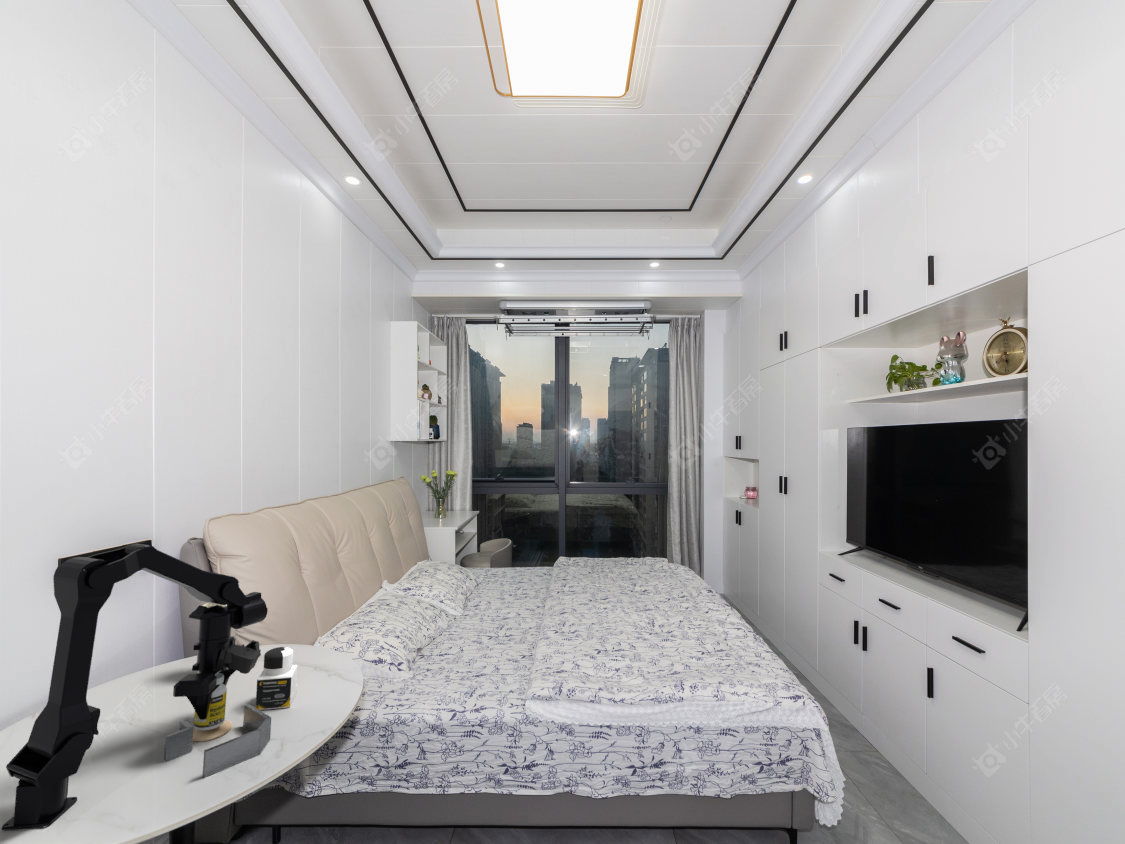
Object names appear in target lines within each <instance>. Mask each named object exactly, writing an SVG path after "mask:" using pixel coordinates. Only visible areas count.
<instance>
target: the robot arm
mask: <svg viewBox="0 0 1125 844" xmlns="http://www.w3.org/2000/svg"><path fill="white" fill-rule="evenodd" d="M141 570H142V571H143V572H144V571H145V572H146V573H149V574H151V575H154V576H156V577H159V578H161V579H164V580H166V581H169V582H171V583H173V584H176V585H178V586H180V587H182V588H184V589H185V590H186V591H187V592H188V594H189V595H191V596H192V597H194V598H196V599H197V600H198V601H200V602H205V603H215V604H221V605H226V604H227V606H225V607H222V606H220V605H215V606H211V607H208V608H207V607H206V606H203V605H198V606H197V607H196V609H195V610H193V611H192V612H191V613H190V614H189V615H188V618H189V619H192V620H197V621H199V623H198V625H199V626H198V638H197V639H198V640H197V642H196V643H195V644H194V645H193V649H192V651H197V655H196V662H195V663H194V664H193V665H192V667H191V672H194V671H195V672H197V671H199V672H200V673H199V674H197V673H188V674H186V675H185V676H184V677H182V678H181V679H180V680H178V682H176V683H175V684H174V685H173V692H172V696H173V697H174V698H177V697H178V698H181V697H186V698H187V700H188V702H189V703H190V704H191V706H192V708H193V710H194V712H195V711H196V713H197V715H198V717H199V718H200V720H205V719H206V718H207V715H208V711H209V706H210V701H211V696H212V693H213V692H214V691H215V690H216V689H217V688H218V687H219V686H220V685H216V683H217V677H216V675H217V674H218V673H222V674H224V682H223V683H222V684H224V685H226V686H227V684H228V682H229V679H230V678H231V676H232V675H233V674H234V673H235V672H236V671H237V672H239V673H240V674H246V675H247V674H249V673H250V672H251V671H252V669H254V668H255V666H256V664H257V661H258V660H259V658H260V657H261V655H262V654H261V652H262V651H261V649H260V642H259V641H258V640H254V639H252V640H251V641H249V643H248V644H246V645H245V644H240V645H239V644H237V643H236V637H235V638H234V636H231V627H232V628H234V629H235V630H239V629H242V628H246V627H249V626H252V625H255V624H258V623H261V622H263V621H264V620H265V619H266V617H267V615H268V606H267V604H266V601H265V599H263V598H262V592H258V591H252V592H250V593H248V594H245V593H244V592H243V590H242V589H241V588H240V584H239V583H240V581H239V579H238V578H236V577H235V576H232V575H227V574H222V573H217V572H216V573H215V572H211V571H208V570H207V571H206V570H203V569H200V568H198V567H197V566H194V565H191V564H189V563H188V562H185V561H182V560H181V559H178V558H176V557H174V556H172V555H170V554H167V553H165V552H163V551H160V550H158V549H157V548H156V547H155V546H153V545H150V544H143V543H131V544H130V545H126V546H123V547H120V548H118V549H113V550H108V551H104V552H100V553H96V554H93V555H90V556H87V557H83V556H76V557H75V556H74V557H71V558H69V559H67V560H65V561H64V562H63V563H62V564H60V565H59V566H57V567H56V569H55V570H54V574H53V578H52V579H53V591H54V592H53V594H54V595H53V596H54V598H55V602H56V604H57V606H58V609H59V611H60V620H59V625H58V632H57V640H56V646H55V652H54V659H53V665H52V671H51V678H50V684H49V692H48V699H47V703H46V705H45V707H43V710H42V711H41V712H40V714H39V715H38V716H37V717H36V719H35V720H34V722H33V723H34V724H33V726H32V729H31V732H30V735H29V737H28V741H27V742H26V743H25V744H24V745H23V746H22V748H21V749H20V750H19V751H18V752H17V753H16V754H15V756H14V757H12V759H11V760H9V762H8V763H7V764H6V766H5V768H6V771H7V772H8V774H9V777H12V778H13V777H14V778H16V779H19V780H18V784H17V786H16V788H15V800H14V801H15V802H14V813H13V816H12V817H11V818H10V819H8V820H7V821H6V822H5V823H3V824H2V825H1V831H2V830H3V831H5V830H7V831H8V830H17V829H30V828H40V827H47V826H50V825H52V824H53V823H54V822H55V821H56V820H57V819H58V818H59V817H60V816H61V815H63V814H64V813H65V812H66V811H67V810H68V809H70V808H71V807H72V806H73V805H74V804H75V803H77V801H78V797H77V796H68V793H69V780H70V777H71V776H73V775H75V774H77V773H78V771H79V768H80V765H81V763H82V762H83V758H84V757H85V754H86V752H87V750H89V749H90V748H91V746H92V744H93V741H94V738H95V737H94V735H95V736H99V730H98V725H99V724H98V723H99V721H100V720H99V719H100V717H101V709H100V707H96V706H91V705H89V704H88V700H87V695H88V689H89V681H90V673H91V669H92V667H91V666H92V660H93V653H94V647H95V641H96V634H97V625H98V617H99V613H100V611H101V609H102V608H103V606H104V605H105V604H106V603H107V601H108V600H109V598H110V597H111V595H112V592H113V588H114V586H115V584H117V583H118V582H121V581H124V580H127V579H129V578H130V577H132V576H133V575H134V574H136V573H137V572H139V571H141Z"/></svg>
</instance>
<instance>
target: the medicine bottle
mask: <svg viewBox="0 0 1125 844" xmlns="http://www.w3.org/2000/svg"><path fill="white" fill-rule="evenodd" d="M297 683H298V664H294V649H292V648H291V647H288V646H278V647H274V648H271V649H270V650H268V651H266V652H265V653H264V655H263V670H262V671H261V673H260V674H259V676H258V677H257V679H256V693H255V708H256V709H258V710H260V711H267V710H278V709H287V708H290V707H291V705H292V703H293V702H294V699H295V697H296V695H297Z"/></svg>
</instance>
